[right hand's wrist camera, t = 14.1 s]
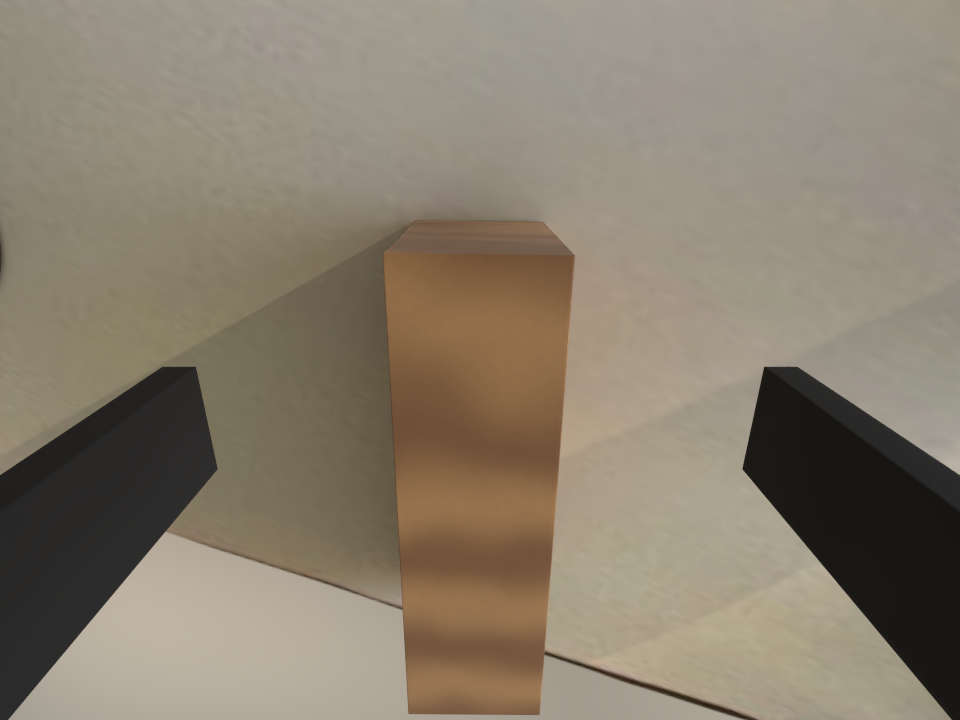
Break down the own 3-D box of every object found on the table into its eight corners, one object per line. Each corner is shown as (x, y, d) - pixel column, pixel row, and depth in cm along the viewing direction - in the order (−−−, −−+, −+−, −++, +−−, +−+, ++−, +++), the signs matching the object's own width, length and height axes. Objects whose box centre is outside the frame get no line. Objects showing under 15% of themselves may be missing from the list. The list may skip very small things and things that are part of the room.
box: (414, 220, 34) (382, 253, 23) (543, 222, 34) (575, 255, 23) (426, 573, 45) (408, 714, 34) (524, 574, 45) (539, 715, 34)
